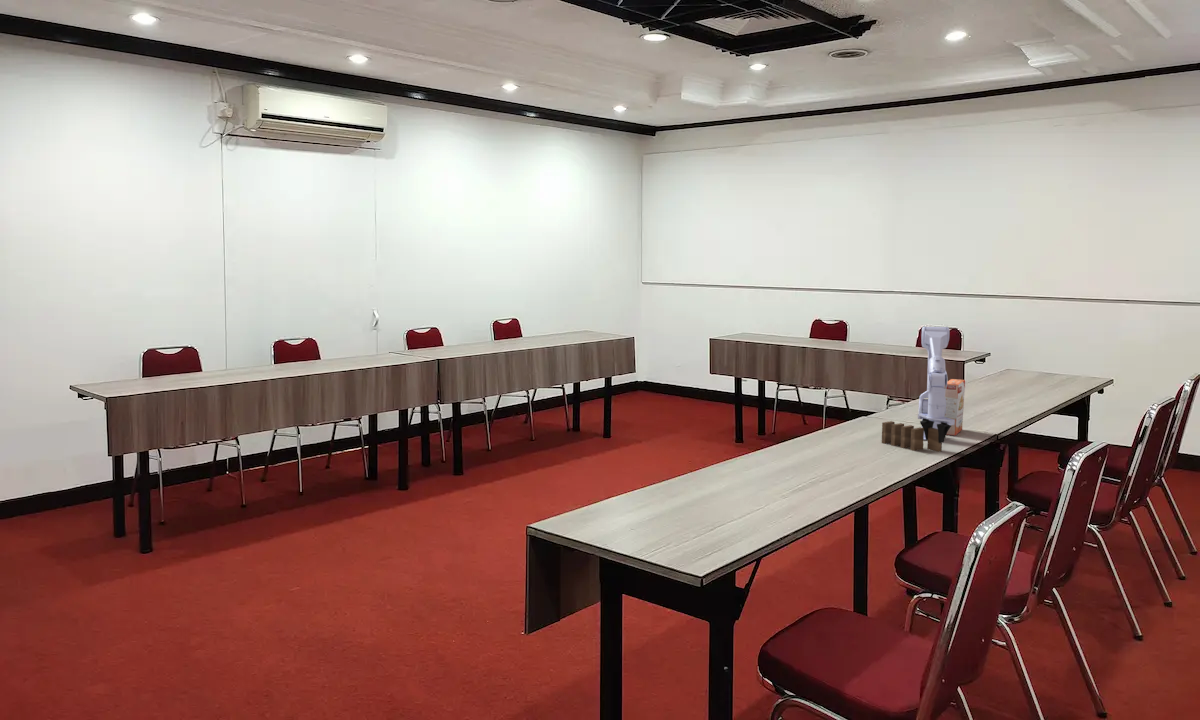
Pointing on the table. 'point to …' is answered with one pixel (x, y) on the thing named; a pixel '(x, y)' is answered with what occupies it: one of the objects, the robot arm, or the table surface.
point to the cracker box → (955, 404)
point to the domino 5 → (933, 440)
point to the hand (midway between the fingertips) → (934, 441)
